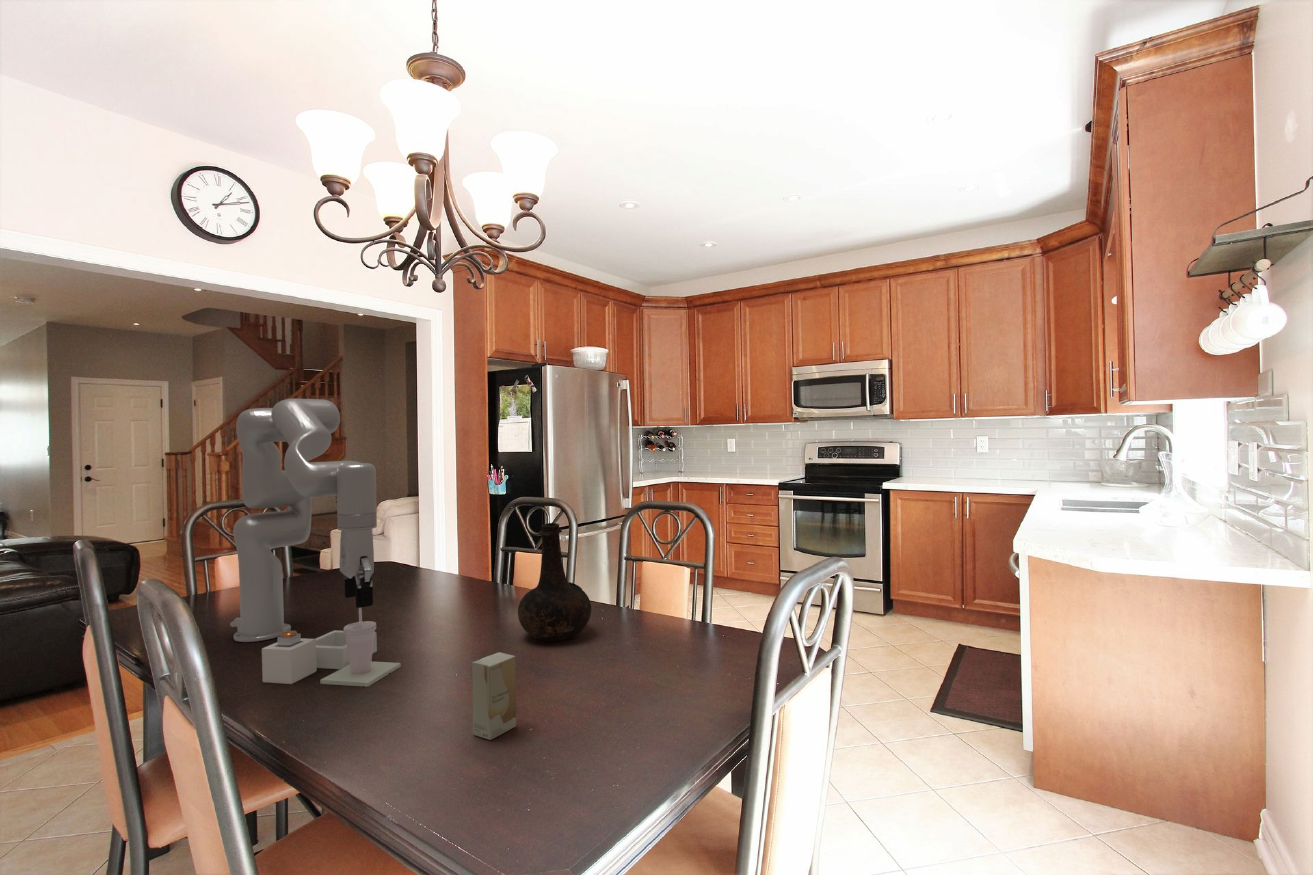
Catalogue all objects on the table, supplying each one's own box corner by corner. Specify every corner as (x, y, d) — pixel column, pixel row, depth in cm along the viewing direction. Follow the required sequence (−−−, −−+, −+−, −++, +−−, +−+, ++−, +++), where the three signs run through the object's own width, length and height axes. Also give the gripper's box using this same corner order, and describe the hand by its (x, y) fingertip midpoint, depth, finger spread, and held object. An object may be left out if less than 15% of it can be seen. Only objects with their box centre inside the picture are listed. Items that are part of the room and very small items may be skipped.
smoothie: (348, 678, 128) (346, 611, 128) (341, 670, 133) (339, 604, 133) (381, 671, 132) (379, 605, 132) (373, 662, 137) (371, 599, 137)
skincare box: (490, 741, 102) (488, 666, 102) (471, 735, 104) (470, 662, 104) (518, 725, 107) (516, 654, 107) (500, 719, 110) (498, 650, 110)
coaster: (320, 683, 128) (320, 679, 128) (356, 664, 139) (356, 660, 139) (367, 686, 126) (367, 682, 126) (400, 666, 137) (400, 662, 137)
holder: (298, 666, 138) (297, 646, 138) (334, 649, 149) (334, 630, 149) (343, 669, 136) (342, 648, 136) (376, 651, 147) (376, 632, 147)
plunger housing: (262, 682, 130) (261, 648, 130) (288, 669, 137) (288, 637, 137) (291, 683, 128) (290, 650, 128) (316, 671, 135) (315, 638, 135)
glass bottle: (606, 633, 156) (603, 521, 156) (550, 653, 143) (547, 531, 143) (559, 620, 168) (556, 517, 168) (503, 638, 154) (500, 525, 154)
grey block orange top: (278, 665, 131) (277, 634, 131) (289, 660, 134) (288, 630, 134) (290, 666, 131) (289, 635, 131) (301, 661, 134) (300, 630, 134)
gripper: (329, 518, 137) (330, 595, 137) (347, 528, 123) (348, 614, 124) (365, 515, 141) (367, 590, 142) (387, 524, 128) (388, 607, 128)
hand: (358, 601), depth 133 cm, fingers open, 9 cm apart
